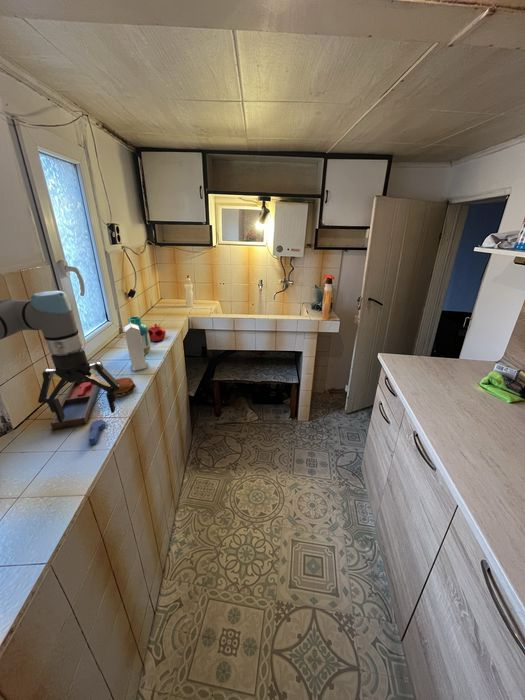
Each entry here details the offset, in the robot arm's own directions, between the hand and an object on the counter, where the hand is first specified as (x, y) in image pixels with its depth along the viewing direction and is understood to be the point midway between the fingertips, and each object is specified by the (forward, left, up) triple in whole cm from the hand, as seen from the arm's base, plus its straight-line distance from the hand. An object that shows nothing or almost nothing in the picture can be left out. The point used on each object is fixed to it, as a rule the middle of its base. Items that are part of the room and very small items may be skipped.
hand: (88, 414), depth 84 cm
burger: (+5, +26, -9) cm, 28 cm away
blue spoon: (0, +2, -9) cm, 9 cm away
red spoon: (-9, +29, -8) cm, 32 cm away
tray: (-9, +22, -9) cm, 26 cm away
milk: (+10, +46, -9) cm, 48 cm away
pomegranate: (+17, +79, -9) cm, 81 cm away
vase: (+10, +61, -9) cm, 63 cm away
